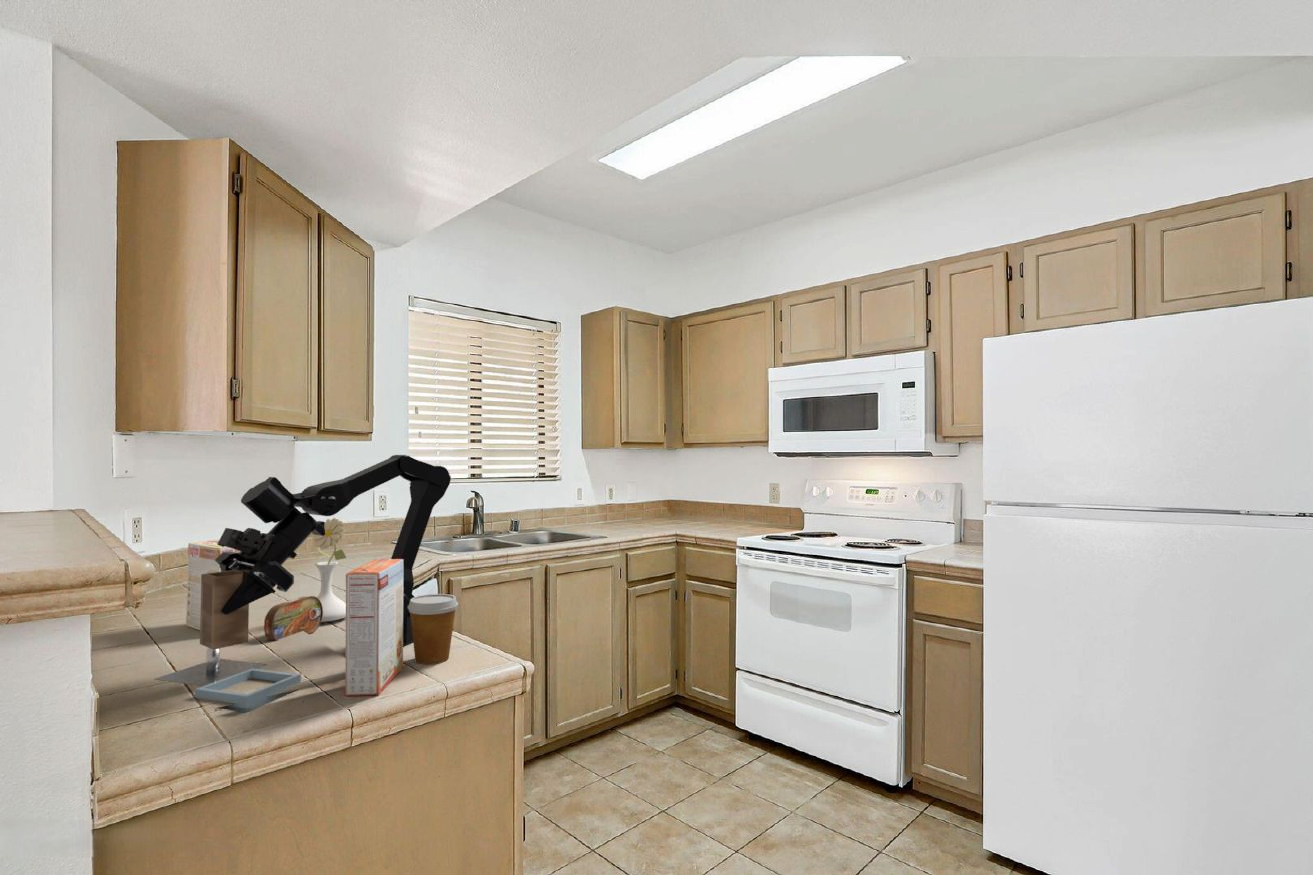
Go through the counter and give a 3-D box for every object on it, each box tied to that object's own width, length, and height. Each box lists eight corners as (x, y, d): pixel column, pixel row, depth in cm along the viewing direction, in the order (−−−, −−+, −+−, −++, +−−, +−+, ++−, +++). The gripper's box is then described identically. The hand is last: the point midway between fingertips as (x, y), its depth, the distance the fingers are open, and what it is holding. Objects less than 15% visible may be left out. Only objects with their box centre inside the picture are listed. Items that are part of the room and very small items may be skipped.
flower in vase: (289, 621, 157) (291, 517, 157) (335, 612, 166) (337, 514, 167) (317, 630, 149) (320, 520, 150) (364, 619, 158) (366, 517, 159)
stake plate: (267, 670, 121) (267, 642, 121) (206, 693, 110) (207, 662, 110) (217, 664, 124) (218, 637, 125) (153, 685, 113) (154, 655, 113)
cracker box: (371, 669, 122) (373, 558, 123) (404, 668, 123) (406, 558, 124) (341, 697, 109) (344, 571, 109) (378, 696, 109) (381, 571, 110)
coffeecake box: (249, 629, 149) (251, 544, 150) (215, 636, 143) (217, 547, 144) (218, 619, 157) (220, 539, 158) (184, 626, 151) (186, 542, 152)
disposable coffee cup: (466, 655, 132) (467, 595, 132) (436, 669, 123) (437, 605, 123) (428, 650, 135) (429, 591, 135) (395, 663, 126) (396, 601, 126)
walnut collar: (234, 636, 117) (235, 569, 117) (248, 642, 113) (249, 573, 114) (199, 643, 112) (201, 574, 112) (213, 649, 109) (214, 578, 109)
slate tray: (300, 689, 112) (300, 674, 112) (246, 712, 102) (246, 696, 102) (252, 682, 115) (252, 668, 115) (194, 704, 105) (195, 689, 105)
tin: (273, 648, 135) (274, 607, 135) (260, 647, 136) (261, 606, 136) (323, 629, 150) (324, 592, 150) (312, 628, 151) (312, 592, 151)
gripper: (228, 508, 122) (156, 576, 113) (276, 514, 111) (201, 589, 102) (271, 545, 128) (207, 612, 119) (321, 554, 117) (254, 629, 108)
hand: (215, 610), depth 112 cm, fingers closed on walnut collar, 5 cm apart
